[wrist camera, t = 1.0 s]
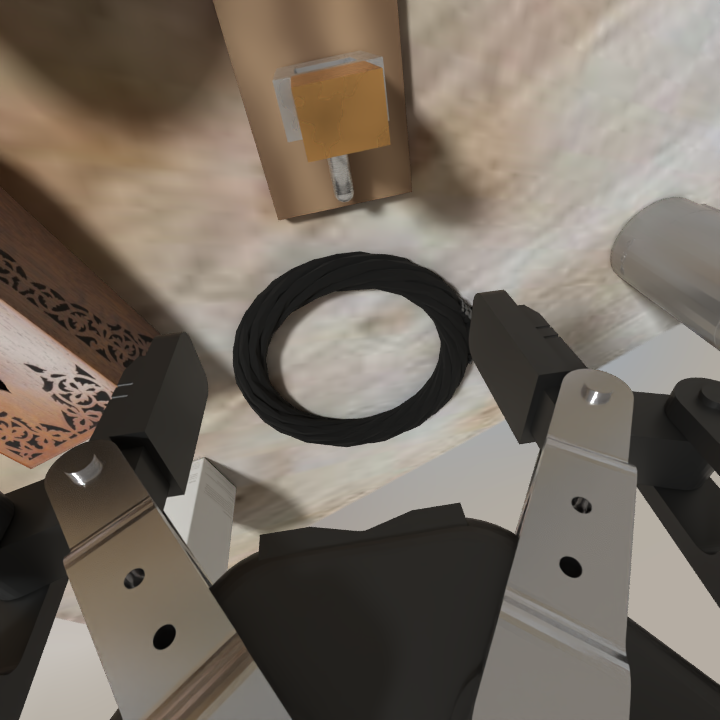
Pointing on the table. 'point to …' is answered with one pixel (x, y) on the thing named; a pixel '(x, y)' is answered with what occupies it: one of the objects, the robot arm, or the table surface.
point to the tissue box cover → (56, 341)
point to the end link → (335, 110)
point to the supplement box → (205, 517)
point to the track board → (303, 44)
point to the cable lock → (344, 276)
